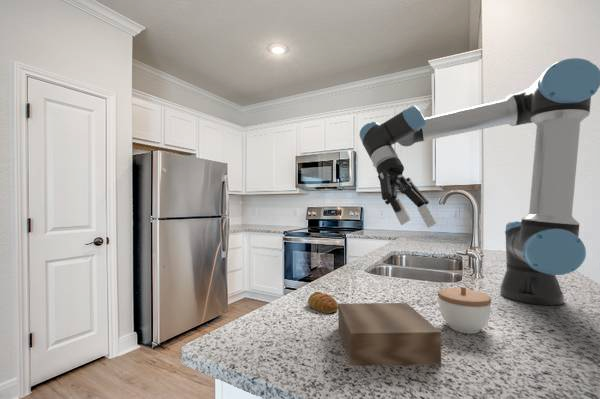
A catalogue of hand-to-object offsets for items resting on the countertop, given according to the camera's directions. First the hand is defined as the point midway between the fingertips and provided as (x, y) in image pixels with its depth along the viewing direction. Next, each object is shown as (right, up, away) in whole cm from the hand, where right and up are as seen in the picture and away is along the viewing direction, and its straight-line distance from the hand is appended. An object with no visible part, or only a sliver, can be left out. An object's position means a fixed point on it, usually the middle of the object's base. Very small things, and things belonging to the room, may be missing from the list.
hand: (419, 224), depth 80 cm
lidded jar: (+5, -23, -12) cm, 27 cm away
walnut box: (-16, -23, -20) cm, 34 cm away
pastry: (-26, -24, +2) cm, 35 cm away
